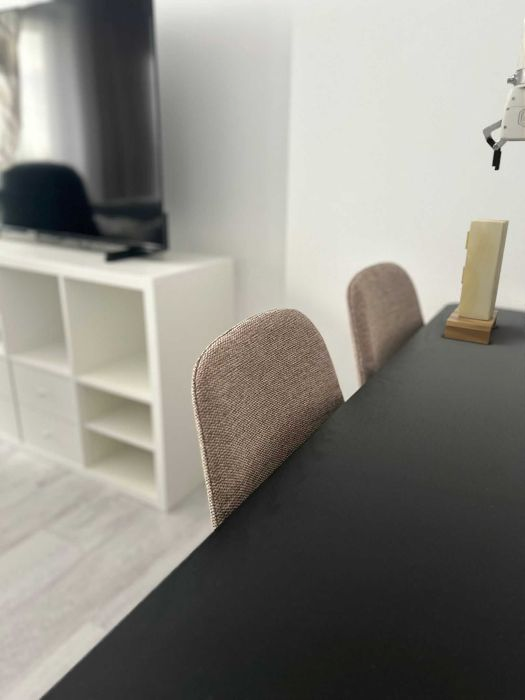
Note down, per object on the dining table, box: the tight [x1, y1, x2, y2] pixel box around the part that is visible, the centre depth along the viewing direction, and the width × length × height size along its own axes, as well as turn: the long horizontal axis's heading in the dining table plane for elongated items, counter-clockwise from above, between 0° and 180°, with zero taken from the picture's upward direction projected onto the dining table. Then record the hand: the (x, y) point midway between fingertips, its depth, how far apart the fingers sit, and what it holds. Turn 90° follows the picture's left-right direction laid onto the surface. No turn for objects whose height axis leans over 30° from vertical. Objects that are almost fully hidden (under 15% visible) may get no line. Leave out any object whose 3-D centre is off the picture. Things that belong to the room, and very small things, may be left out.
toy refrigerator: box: [458, 218, 510, 321], centre depth 113 cm, size 8×7×21 cm
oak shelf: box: [443, 304, 499, 345], centre depth 117 cm, size 16×9×4 cm, turn 151°
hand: (521, 170), depth 109 cm, fingers open, 9 cm apart
